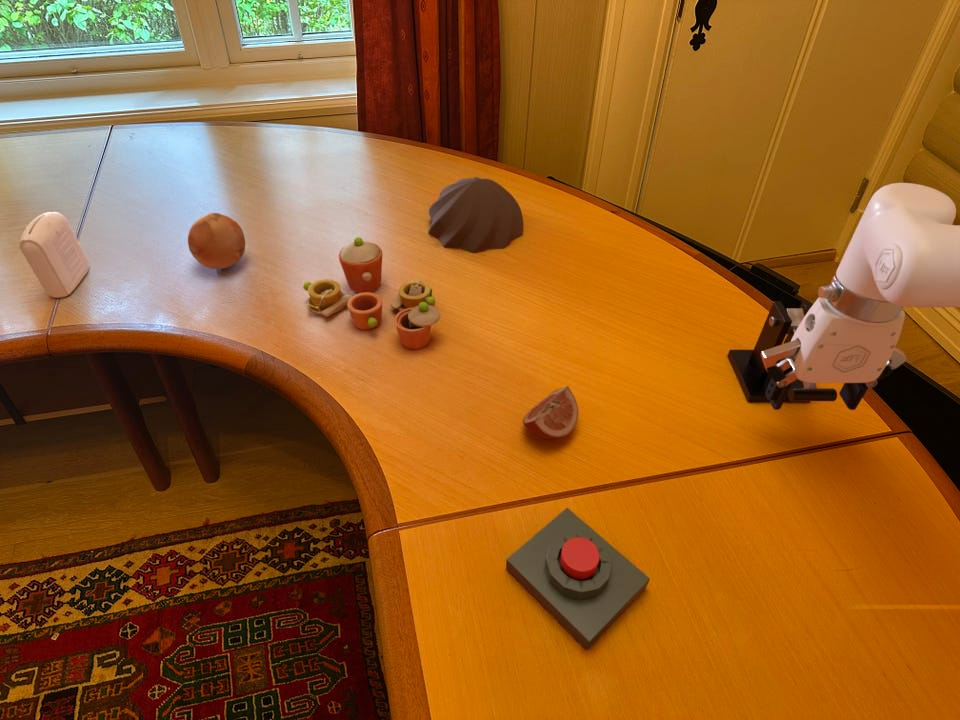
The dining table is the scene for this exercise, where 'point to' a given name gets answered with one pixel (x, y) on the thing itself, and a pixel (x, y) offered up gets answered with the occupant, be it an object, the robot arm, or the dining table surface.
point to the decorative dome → (475, 216)
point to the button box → (571, 600)
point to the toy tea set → (375, 296)
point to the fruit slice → (553, 415)
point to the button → (579, 558)
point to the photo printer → (54, 254)
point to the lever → (810, 389)
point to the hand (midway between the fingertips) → (809, 402)
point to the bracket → (751, 363)
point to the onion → (216, 241)
